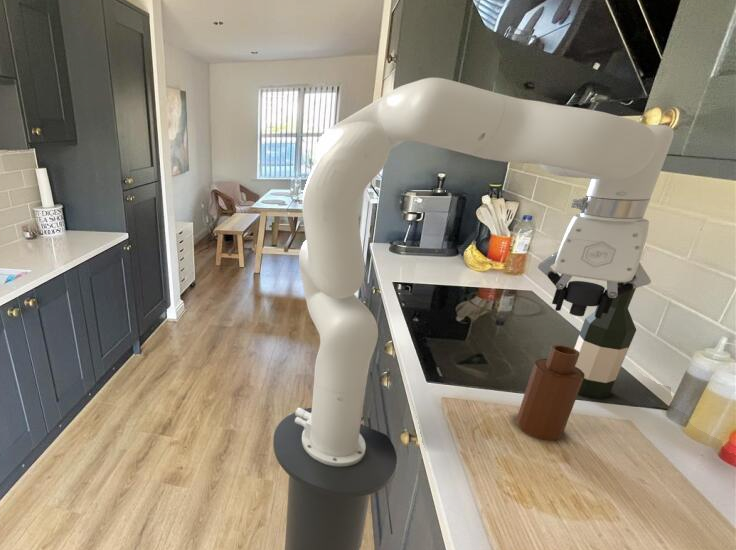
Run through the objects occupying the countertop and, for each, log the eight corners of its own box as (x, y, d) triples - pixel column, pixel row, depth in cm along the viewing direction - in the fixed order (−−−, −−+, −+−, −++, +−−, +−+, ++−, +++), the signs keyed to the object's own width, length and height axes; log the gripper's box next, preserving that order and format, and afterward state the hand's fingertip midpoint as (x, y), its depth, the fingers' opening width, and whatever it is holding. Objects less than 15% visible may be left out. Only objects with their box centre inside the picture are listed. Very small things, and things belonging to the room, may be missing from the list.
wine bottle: (558, 387, 93) (602, 265, 82) (566, 374, 98) (608, 257, 87) (605, 403, 87) (660, 274, 76) (611, 388, 92) (663, 265, 81)
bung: (558, 315, 71) (568, 286, 69) (560, 306, 74) (569, 279, 72) (594, 322, 68) (605, 292, 66) (594, 313, 71) (604, 284, 69)
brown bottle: (513, 429, 80) (539, 351, 73) (518, 411, 85) (542, 337, 78) (560, 446, 76) (591, 364, 69) (562, 426, 81) (591, 348, 74)
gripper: (544, 207, 66) (516, 307, 73) (695, 217, 56) (646, 332, 63) (548, 202, 72) (522, 295, 78) (686, 210, 61) (642, 317, 68)
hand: (577, 311), depth 71 cm, fingers closed on bung, 4 cm apart
